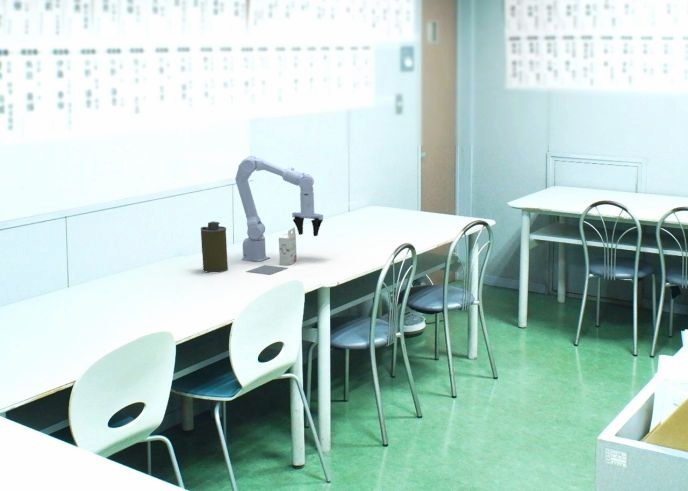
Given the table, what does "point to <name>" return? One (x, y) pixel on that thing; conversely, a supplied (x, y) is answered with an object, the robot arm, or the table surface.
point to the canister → (214, 248)
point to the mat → (267, 270)
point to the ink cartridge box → (288, 248)
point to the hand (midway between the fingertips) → (308, 235)
